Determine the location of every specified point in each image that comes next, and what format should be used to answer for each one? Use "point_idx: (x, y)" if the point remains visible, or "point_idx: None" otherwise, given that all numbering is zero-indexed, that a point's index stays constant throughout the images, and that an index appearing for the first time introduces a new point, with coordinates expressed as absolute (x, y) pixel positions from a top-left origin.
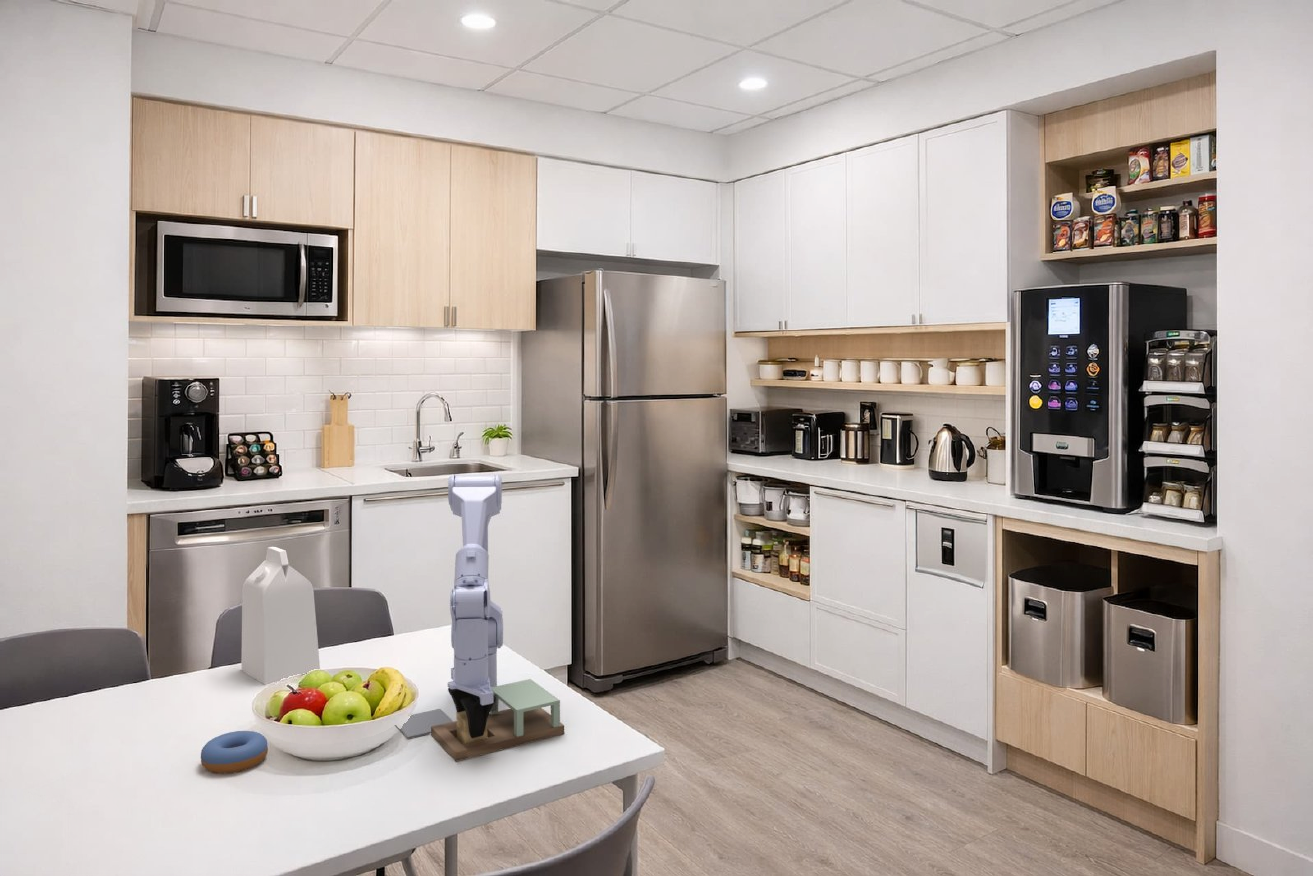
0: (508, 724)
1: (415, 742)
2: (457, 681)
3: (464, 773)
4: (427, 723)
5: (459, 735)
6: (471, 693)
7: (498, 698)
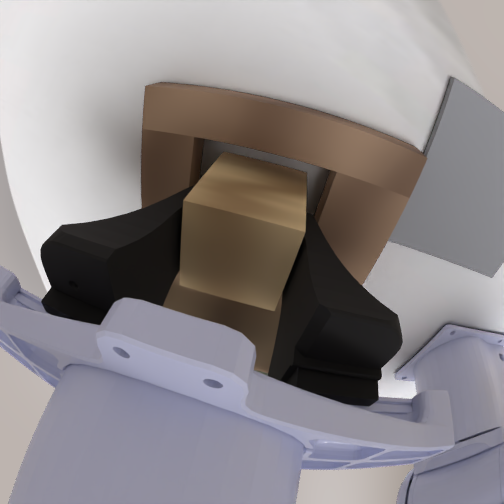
0: (232, 309)
1: (412, 73)
2: (115, 402)
3: (88, 76)
4: (474, 195)
5: (276, 177)
6: (21, 309)
7: (259, 371)
